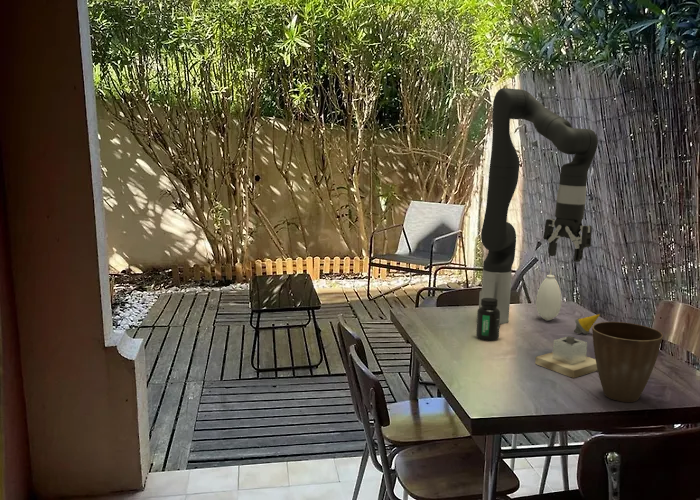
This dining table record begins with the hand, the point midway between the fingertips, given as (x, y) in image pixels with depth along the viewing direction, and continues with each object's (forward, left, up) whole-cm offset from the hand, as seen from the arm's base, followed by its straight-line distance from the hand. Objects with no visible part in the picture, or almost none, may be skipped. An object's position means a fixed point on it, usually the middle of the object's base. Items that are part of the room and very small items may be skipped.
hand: (564, 258), depth 172 cm
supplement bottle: (-18, -10, -27) cm, 34 cm away
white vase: (-21, +22, -27) cm, 40 cm away
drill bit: (-5, +20, -27) cm, 34 cm away
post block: (+11, -10, -27) cm, 30 cm away
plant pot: (+30, -16, -27) cm, 43 cm away
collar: (+11, -10, -25) cm, 29 cm away
